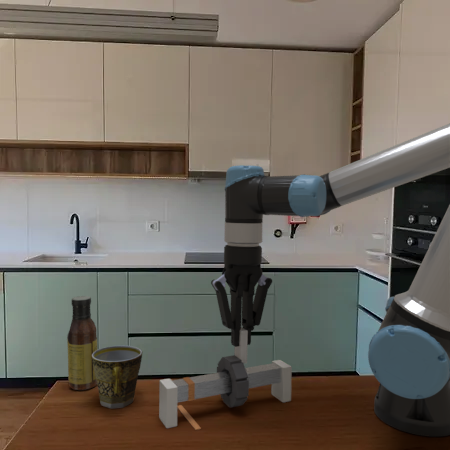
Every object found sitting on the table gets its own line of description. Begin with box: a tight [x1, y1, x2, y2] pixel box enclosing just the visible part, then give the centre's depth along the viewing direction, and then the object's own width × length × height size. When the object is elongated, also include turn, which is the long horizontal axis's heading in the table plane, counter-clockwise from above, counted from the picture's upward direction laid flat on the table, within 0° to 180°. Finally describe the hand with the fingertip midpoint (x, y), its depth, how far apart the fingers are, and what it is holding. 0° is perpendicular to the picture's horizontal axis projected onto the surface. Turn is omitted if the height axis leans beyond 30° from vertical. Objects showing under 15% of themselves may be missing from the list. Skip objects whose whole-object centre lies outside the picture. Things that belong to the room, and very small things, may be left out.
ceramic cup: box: [92, 344, 143, 410], centre depth 86 cm, size 13×10×10 cm
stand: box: [158, 359, 293, 431], centre depth 85 cm, size 27×10×7 cm, turn 116°
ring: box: [216, 355, 250, 408], centre depth 85 cm, size 2×9×9 cm, turn 26°
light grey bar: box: [171, 362, 282, 404], centre depth 85 cm, size 25×3×3 cm, turn 116°
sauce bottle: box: [66, 295, 98, 391], centre depth 94 cm, size 7×6×20 cm
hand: (240, 361), depth 86 cm, fingers closed
